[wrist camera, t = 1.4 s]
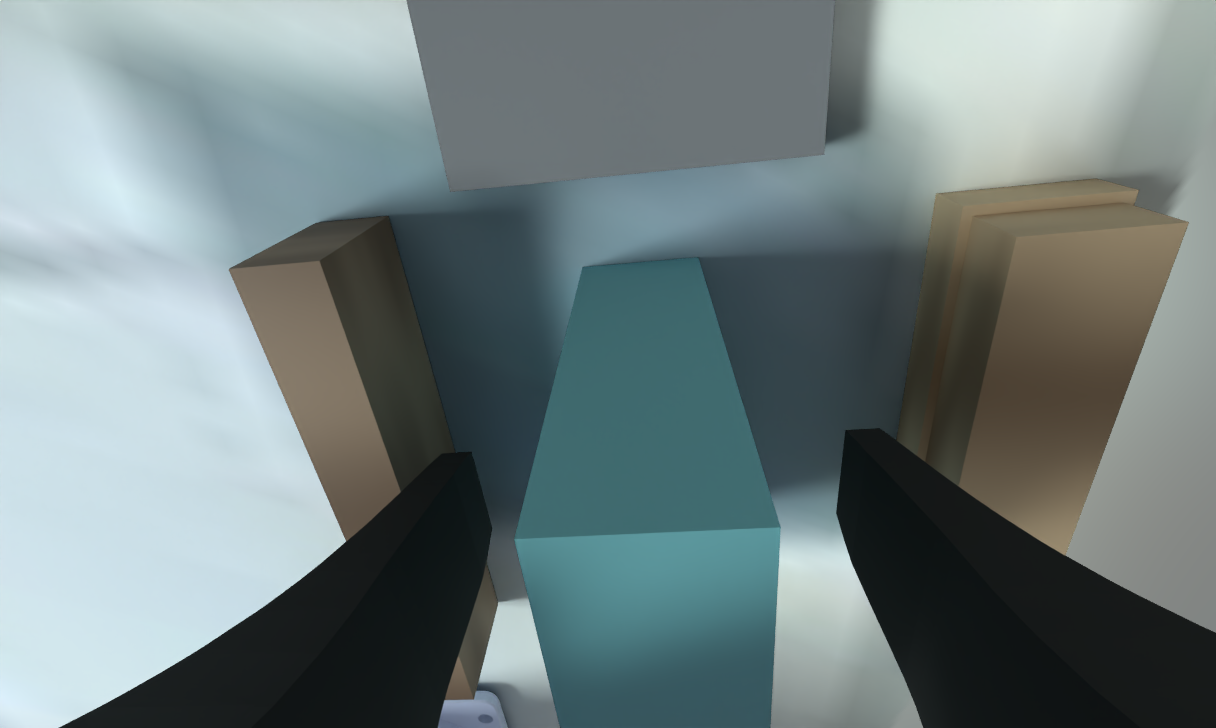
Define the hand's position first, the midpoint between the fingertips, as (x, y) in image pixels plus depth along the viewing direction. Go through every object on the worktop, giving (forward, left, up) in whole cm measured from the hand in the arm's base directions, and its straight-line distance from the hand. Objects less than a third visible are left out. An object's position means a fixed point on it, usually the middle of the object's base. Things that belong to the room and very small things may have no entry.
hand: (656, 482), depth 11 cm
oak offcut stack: (0, -7, -4) cm, 8 cm away
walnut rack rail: (-1, +6, -3) cm, 7 cm away
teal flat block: (0, 0, -3) cm, 3 cm away
